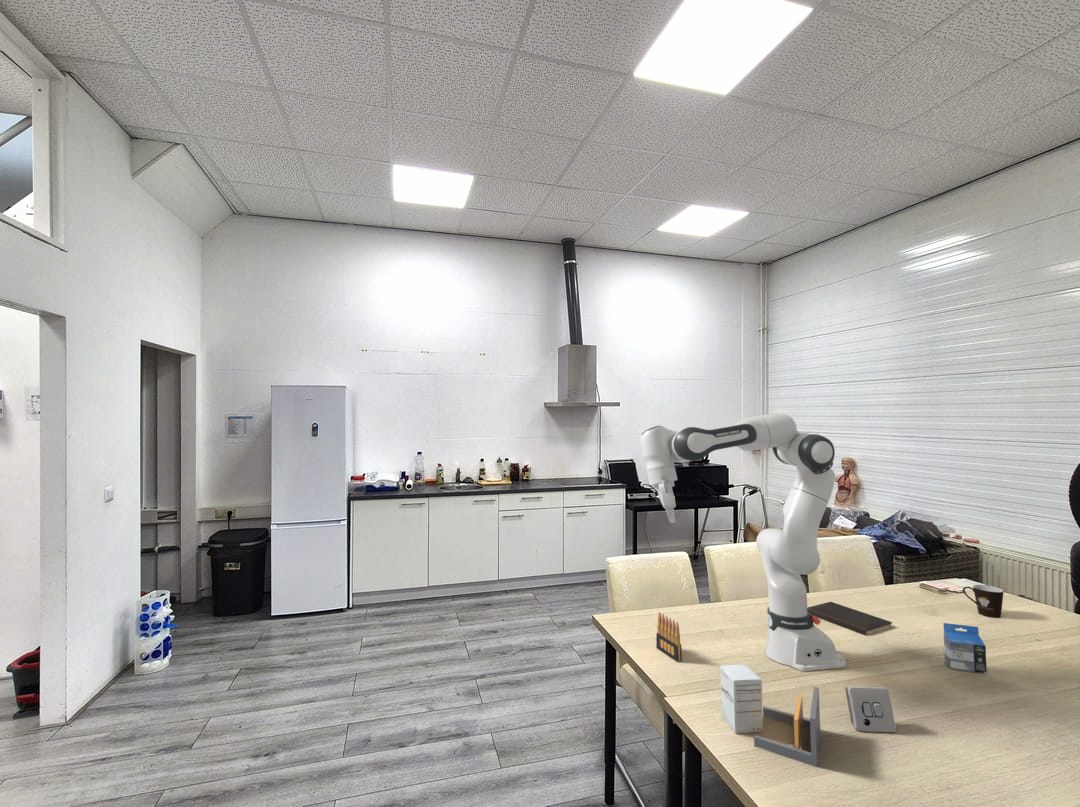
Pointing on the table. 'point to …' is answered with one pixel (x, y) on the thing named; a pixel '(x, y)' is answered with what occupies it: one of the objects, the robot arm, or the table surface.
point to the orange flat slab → (798, 722)
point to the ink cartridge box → (964, 649)
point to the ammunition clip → (668, 638)
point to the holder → (810, 724)
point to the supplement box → (741, 698)
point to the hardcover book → (849, 618)
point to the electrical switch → (870, 709)
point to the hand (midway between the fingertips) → (672, 521)
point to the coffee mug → (987, 600)
